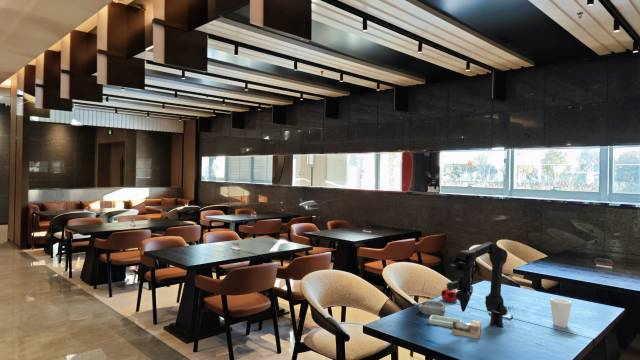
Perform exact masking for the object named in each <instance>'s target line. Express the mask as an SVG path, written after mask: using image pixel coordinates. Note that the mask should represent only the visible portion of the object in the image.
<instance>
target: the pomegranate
mask: <svg viewBox="0 0 640 360" xmlns="http://www.w3.org/2000/svg"><path fill="white" fill-rule="evenodd" d="M456 292H457V291H456V290H455V289H454V290H451V291H448V288H447V287H446V288H443V290H441V293H440V295H441V298H442V300H443V301H444V302H446V303H447V302H448V303H456V302H457V301H458V299H456Z"/></svg>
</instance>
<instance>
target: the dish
mask: <svg viewBox="0 0 640 360" xmlns="http://www.w3.org/2000/svg"><path fill="white" fill-rule="evenodd" d="M418 309H419V310H420V313H421V314H424V315H427V316H431V315H437V316H444V315H445V313H446V311H447V310H446V305H445V304H444V303H442V302H440V301H436V300H427V301H426V302H425V304H424V305H423V304H422V303H420V304H419V305H418Z"/></svg>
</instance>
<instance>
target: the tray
mask: <svg viewBox="0 0 640 360" xmlns="http://www.w3.org/2000/svg"><path fill="white" fill-rule="evenodd" d="M453 321H456V322H462V323H463V319H460V318H455V317H448V316H444V315H441V316H437V315H429V318H428V324H429V325H435V326H439V327H446V328H451V329H453Z"/></svg>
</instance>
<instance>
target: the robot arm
mask: <svg viewBox="0 0 640 360" xmlns="http://www.w3.org/2000/svg"><path fill="white" fill-rule="evenodd" d="M486 254H488V258H489V261H490V264H491V277H490V288H489V289H490V291H489V293H488V295H485V301H484V304H485V308H486V312H490V321H489V326H493V327H499V328H504V320H503V319H504V316H506V315H508V309H507V307H506V306H505V303H504V297H503V296H502V279H503V267H504V265H505V264H506V263H507V258H508V251H506V250H505V249H504V248H502V247H500V246H498V245H496V244H495V243H494V242H489V241H486V242H484V243H482V244H480V245H478V246H476V247H474V248H471V249H463V250H460V251H458V252H457V253H456V255H455V258H454V259H453V261H452V264H449V267H447V269H446V271H445V274H446V277H447V278H448V279H449V280H451V281H450V282H447V283H446V285H445V286H446V289H447V288H448V291H451V290H454V291H455V290H456V291H455V292H456V299H457V301H459V305H460V309H461V310H460V311H461V312H463V313H464V312H465V311H466V309H467V307H468V304H469V303H470V299H471V296H472V294H473V291H474V286H473V285H472V269H473V268H475V265H473V263H475V262H476V260H477V259H478V258H479V257H482V256H483V255H486ZM452 280H454V281H452Z"/></svg>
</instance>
